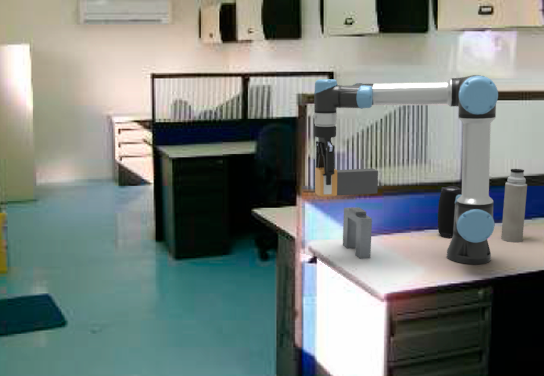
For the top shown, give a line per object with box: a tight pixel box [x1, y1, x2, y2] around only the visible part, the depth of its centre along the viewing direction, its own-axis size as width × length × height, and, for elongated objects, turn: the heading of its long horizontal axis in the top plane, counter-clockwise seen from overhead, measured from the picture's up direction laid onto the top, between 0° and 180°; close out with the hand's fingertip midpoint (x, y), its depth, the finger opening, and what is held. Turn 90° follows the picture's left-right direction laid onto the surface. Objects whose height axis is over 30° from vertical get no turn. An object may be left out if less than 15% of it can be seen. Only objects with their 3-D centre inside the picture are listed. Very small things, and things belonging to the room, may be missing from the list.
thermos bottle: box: [500, 168, 528, 243], centre depth 273 cm, size 8×8×28 cm
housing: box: [342, 206, 373, 260], centre depth 255 cm, size 18×4×16 cm, turn 14°
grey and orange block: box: [314, 167, 379, 197], centre depth 244 cm, size 21×6×9 cm, turn 103°
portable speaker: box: [437, 185, 462, 239], centre depth 279 cm, size 9×9×20 cm
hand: (324, 192), depth 242 cm, fingers closed on grey and orange block, 6 cm apart
